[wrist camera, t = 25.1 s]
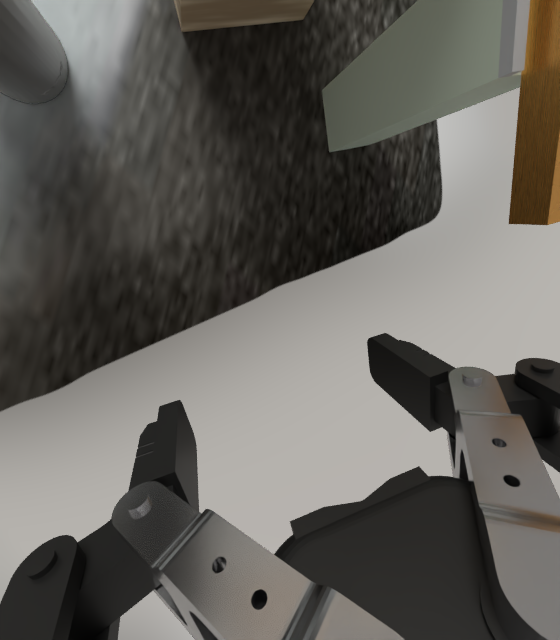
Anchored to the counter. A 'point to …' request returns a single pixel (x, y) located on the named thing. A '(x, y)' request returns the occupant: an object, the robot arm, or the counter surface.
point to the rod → (538, 122)
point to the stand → (237, 12)
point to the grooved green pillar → (427, 69)
